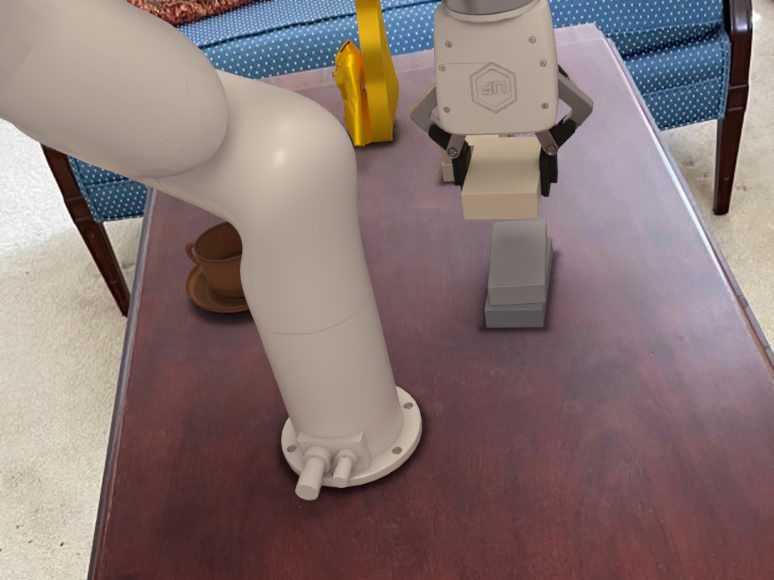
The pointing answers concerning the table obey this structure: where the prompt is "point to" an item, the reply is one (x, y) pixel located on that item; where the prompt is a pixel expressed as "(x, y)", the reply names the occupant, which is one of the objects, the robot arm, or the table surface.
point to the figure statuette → (368, 79)
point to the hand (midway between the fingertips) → (507, 188)
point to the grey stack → (518, 274)
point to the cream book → (503, 179)
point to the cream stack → (471, 140)
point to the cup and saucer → (217, 270)
